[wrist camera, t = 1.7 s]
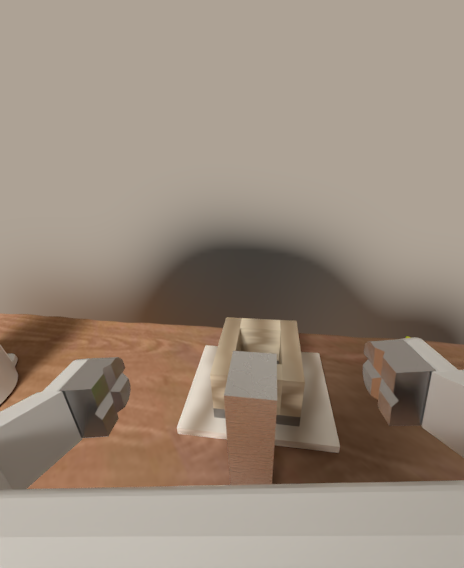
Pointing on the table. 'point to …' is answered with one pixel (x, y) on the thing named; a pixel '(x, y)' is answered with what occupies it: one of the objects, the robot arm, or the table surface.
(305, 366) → the square socket base
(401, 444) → the table surface
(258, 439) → the grey rectangular bar
